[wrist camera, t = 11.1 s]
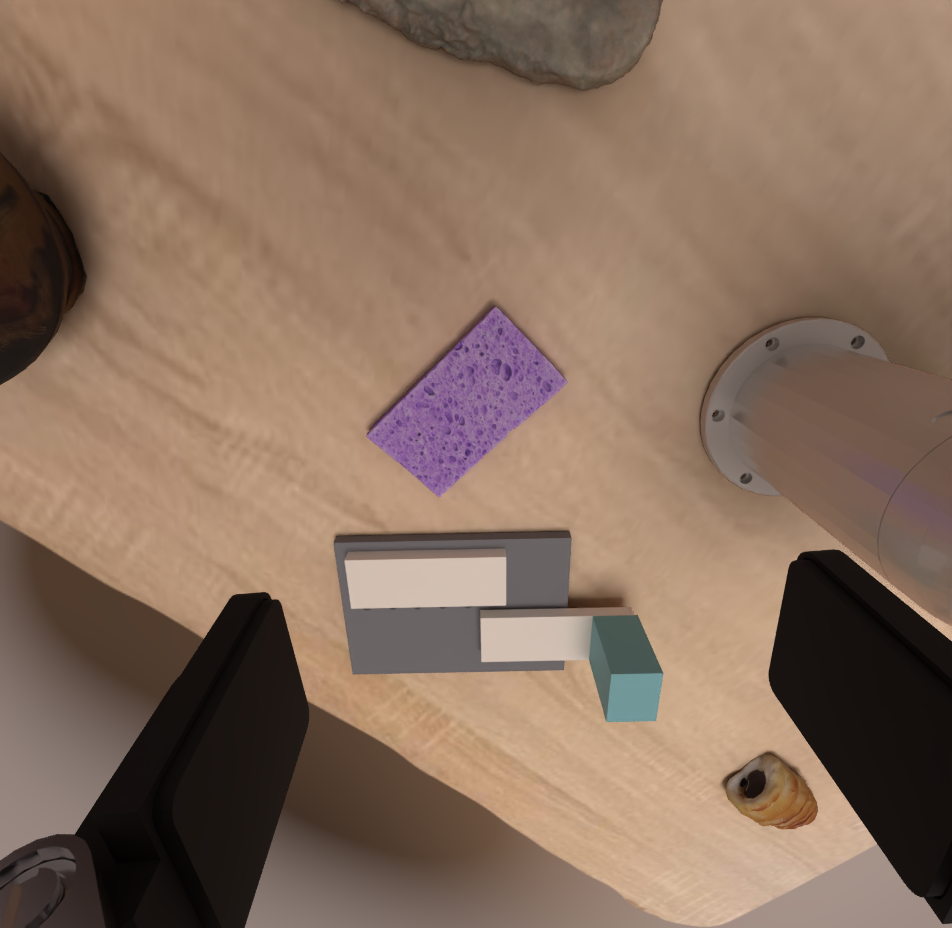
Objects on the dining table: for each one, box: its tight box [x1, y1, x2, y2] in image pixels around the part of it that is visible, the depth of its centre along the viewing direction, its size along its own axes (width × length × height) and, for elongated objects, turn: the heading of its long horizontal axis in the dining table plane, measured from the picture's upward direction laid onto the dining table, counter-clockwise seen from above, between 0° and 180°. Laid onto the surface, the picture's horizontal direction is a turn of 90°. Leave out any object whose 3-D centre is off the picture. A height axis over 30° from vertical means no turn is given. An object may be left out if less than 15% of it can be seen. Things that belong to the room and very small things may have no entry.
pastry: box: [726, 754, 818, 829], centre depth 51 cm, size 9×7×4 cm
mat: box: [334, 531, 571, 674], centre depth 43 cm, size 18×13×1 cm
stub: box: [480, 607, 663, 722], centre depth 40 cm, size 12×4×7 cm, turn 91°
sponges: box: [366, 306, 568, 497], centre depth 36 cm, size 7×13×2 cm, turn 134°
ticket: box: [344, 548, 506, 610], centre depth 41 cm, size 12×5×1 cm, turn 91°
